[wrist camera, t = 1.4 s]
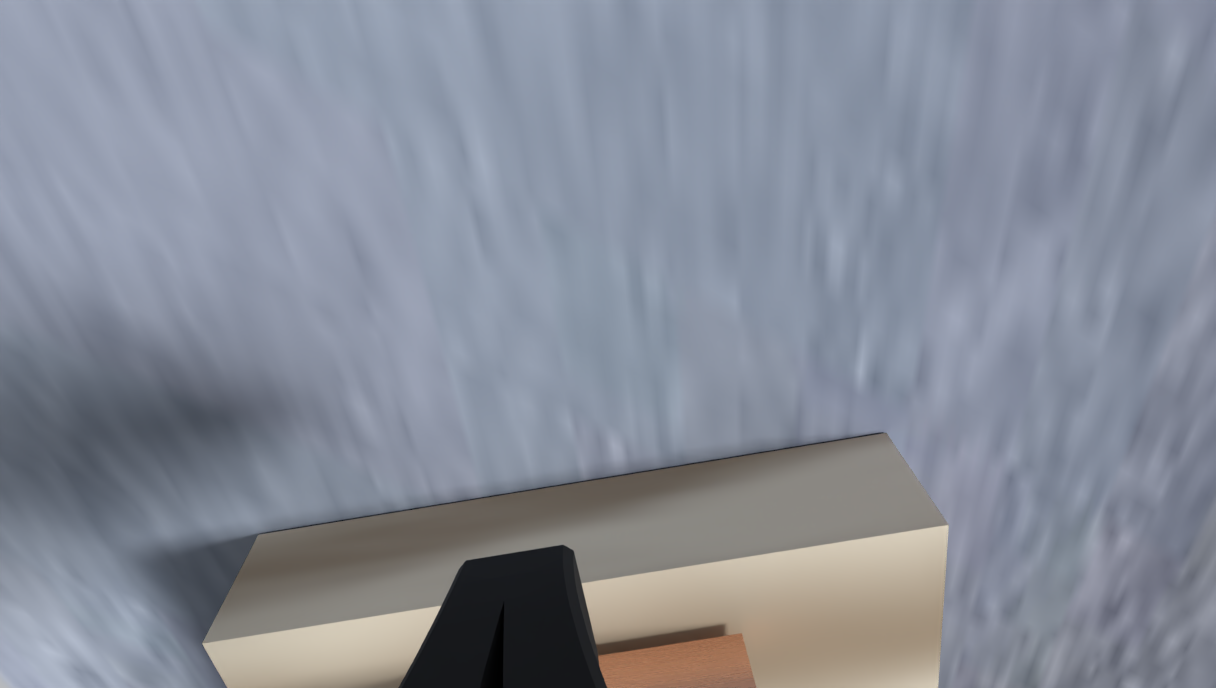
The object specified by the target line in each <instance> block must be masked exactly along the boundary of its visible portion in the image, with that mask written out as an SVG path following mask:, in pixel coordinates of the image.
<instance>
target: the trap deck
mask: <svg viewBox="0 0 1216 688" xmlns="http://www.w3.org/2000/svg"><path fill="white" fill-rule="evenodd" d="M948 526H949V525H948V523H947V522H946V520H945V519H944V517H943V516H942V514H941V513H940V511H939V510H938V509H937V507H936V506H935V504H934V503H933V501H932V500H931V498H930V497H929V495H928V494H927V492H926V491H925V489H924V488H923V486H922V485H921V483H920V482H919V481H918V479H917V478H916V476H915V475H914V473H913V472H912V470H911V469H910V467H909V466H908V464H907V463H906V461H905V460H904V458H903V457H902V455H901V454H900V452H899V451H898V450H897V448H896V447H895V445H894V444H893V442H892V441H891V439H890V438H889V436H888V435H887V433H882V434H876V435H870V436H864V437H858V438H852V439H845V440H839V441H833V442H827V443H821V444H815V445H808V446H802V447H796V448H790V449H784V450H778V451H771V452H765V453H759V454H753V455H747V456H741V457H734V458H728V459H722V460H716V461H710V462H704V463H697V464H691V465H685V466H679V467H673V468H667V469H660V470H654V471H648V472H642V473H636V474H630V475H623V476H617V477H611V478H605V479H599V480H593V481H586V482H580V483H574V484H568V485H562V486H556V487H549V488H543V489H537V490H531V491H525V492H519V493H512V494H506V495H500V496H494V497H488V498H482V499H475V500H469V501H463V502H457V503H451V504H445V505H438V506H432V507H426V508H420V509H414V510H408V511H401V512H395V513H389V514H383V515H377V516H371V517H364V518H358V519H352V520H346V521H340V522H334V523H327V524H321V525H315V526H309V527H303V528H297V529H290V530H284V531H278V532H272V533H266V534H260V535H258V536H257V538H256V540H255V542H254V544H253V546H252V548H251V550H250V552H249V554H248V556H247V558H246V560H245V561H244V563H243V565H242V567H241V569H240V571H239V573H238V575H237V577H236V579H235V581H234V583H233V585H232V587H231V589H230V591H229V592H228V594H227V596H226V598H225V600H224V602H223V604H222V606H221V608H220V610H219V612H218V614H217V616H216V618H215V620H214V622H213V623H212V625H211V627H210V629H209V631H208V633H207V635H206V637H205V639H204V641H203V643H202V645H203V646H204V648H205V650H206V651H207V653H208V655H209V657H210V658H211V660H212V662H213V664H214V665H215V667H216V669H217V671H218V672H219V674H220V676H221V677H222V679H223V681H224V683H225V684H226V686H227V688H398V687H399V686H400V684H401V682H402V680H403V678H404V677H405V675H406V673H407V671H408V669H409V668H410V666H411V664H412V662H413V660H414V658H415V657H416V655H417V653H418V651H419V649H420V647H421V645H422V643H423V641H424V639H425V637H426V635H427V633H428V632H429V630H430V628H431V626H432V624H433V622H434V620H435V618H436V616H437V614H438V612H439V610H440V608H441V606H442V603H443V601H444V599H445V597H446V595H447V593H448V591H449V589H450V587H451V585H452V583H453V581H454V578H455V576H456V574H457V572H458V570H459V568H460V567H461V566H462V565H463V563H464V562H465V561H466V560H472V559H478V558H484V557H490V556H496V555H502V554H508V553H515V552H521V551H527V550H533V549H539V548H545V547H552V546H558V545H565V546H567V547H568V548H570V549H572V550H574V554H575V558H576V562H577V566H578V571H579V575H580V579H581V583H582V588H583V592H584V596H585V600H586V605H587V609H588V613H589V617H590V622H591V626H592V630H593V634H594V639H595V643H596V647H597V651H598V656H600V655H606V654H613V653H619V652H625V651H632V650H638V649H644V648H651V647H657V646H663V645H670V644H676V643H683V642H689V641H695V640H702V639H708V638H714V637H721V636H727V635H734V634H740V633H742V635H743V639H744V643H745V647H746V650H747V654H748V658H749V662H750V665H751V669H752V673H753V677H754V680H755V684H756V688H938V679H939V664H940V649H941V633H942V618H943V603H944V587H945V572H946V557H947V541H948Z"/></svg>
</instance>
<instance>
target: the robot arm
mask: <svg viewBox="0 0 1216 688" xmlns="http://www.w3.org/2000/svg"><path fill="white" fill-rule="evenodd" d="M398 688H607V686H606V683H605V680H604V678H603V675H602V672H601V670H600V667H599V659H598V651H597V647H596V643H595V639H594V634H593V630H592V626H591V622H590V617H589V613H588V609H587V605H586V600H585V596H584V592H583V588H582V583H581V579H580V575H579V571H578V566H577V562H576V558H575V554H574V550H572V549H570V548H568V547H567V546H565V545H558V546H552V547H545V548H539V549H533V550H527V551H521V552H515V553H508V554H502V555H496V556H490V557H484V558H478V559H472V560H466V561H465V562H464V563H463V565H462V566H461V567H460V568H459V570H458V572H457V574H456V576H455V578H454V581H453V583H452V585H451V587H450V589H449V591H448V593H447V595H446V597H445V599H444V601H443V603H442V606H441V608H440V610H439V612H438V614H437V616H436V618H435V620H434V622H433V624H432V626H431V628H430V630H429V632H428V633H427V635H426V637H425V639H424V641H423V643H422V645H421V647H420V649H419V651H418V653H417V655H416V657H415V658H414V660H413V662H412V664H411V666H410V668H409V669H408V671H407V673H406V675H405V677H404V678H403V680H402V682H401V684H400V686H399V687H398Z"/></svg>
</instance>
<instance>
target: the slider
mask: <svg viewBox="0 0 1216 688" xmlns="http://www.w3.org/2000/svg"><path fill="white" fill-rule="evenodd" d="M598 659H599V667H600V670H601V672H602V675H603V678H604V680H605V683H606V686H607V688H756V684H755V680H754V677H753V673H752V669H751V665H750V662H749V658H748V654H747V650H746V647H745V643H744V639H743V635H742V633H740V634H734V635H727V636H721V637H714V638H708V639H702V640H695V641H689V642H683V643H676V644H670V645H663V646H657V647H651V648H644V649H638V650H632V651H625V652H619V653H613V654H606V655H600V656H598Z"/></svg>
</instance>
